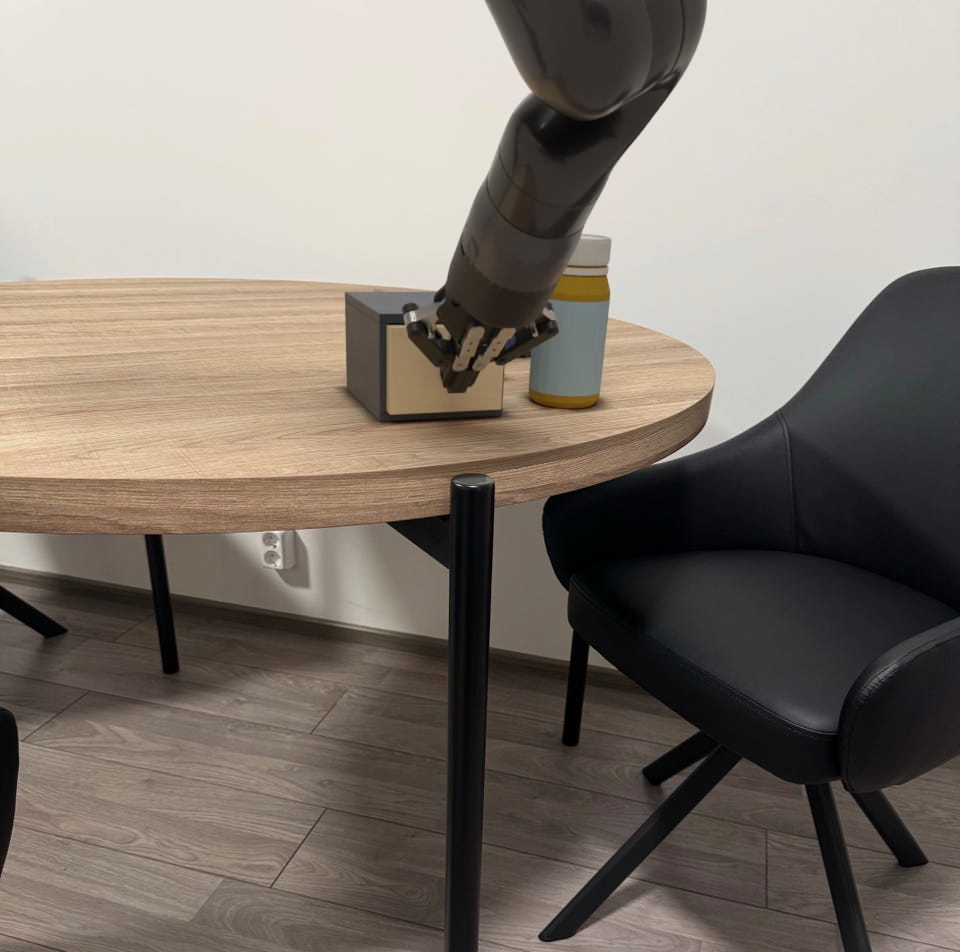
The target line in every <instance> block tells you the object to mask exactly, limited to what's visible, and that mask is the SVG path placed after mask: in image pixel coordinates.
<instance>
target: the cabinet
mask: <svg viewBox="0 0 960 952" xmlns="http://www.w3.org/2000/svg"><path fill="white" fill-rule="evenodd" d="M436 292H437V291H386V292H375V291H345V292H344V319H345V322H344V324H345V369H346V370H345V371H346V374H345V375H346V390H347V391H348V392H350V394H351V395H353V397H354V398H356V399H357V400H358V401H359V402H360V404H362V405H363V407H364V408H365V409H366V410H367V411H369V413H371V415H373V416H374V418H376V419H377V420H378V421H379V422H380V423H381V422H404V421H405V422H406V421H423V420H442V419H446V420H447V419H462V418H483V417H486V418H487V417H501V416H503V403H504V383H505V367H506V364H505V365H504V368H503V386H502V404H501V409H500V410H480V411H459V412H438V413H417V414H395V415H390V414H389V413H388V412H387V325H388V324H394V323H405V321H404V316H403V312H402V307H403V306H404V305H405V304H407V303H415V304H417V305H418V307H419V308H422V307H424V306H426V305H429V304H431V303H433V302H434V296H435V294H436ZM436 323H441V321H440V320H438V321H437V322H436Z"/></svg>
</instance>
